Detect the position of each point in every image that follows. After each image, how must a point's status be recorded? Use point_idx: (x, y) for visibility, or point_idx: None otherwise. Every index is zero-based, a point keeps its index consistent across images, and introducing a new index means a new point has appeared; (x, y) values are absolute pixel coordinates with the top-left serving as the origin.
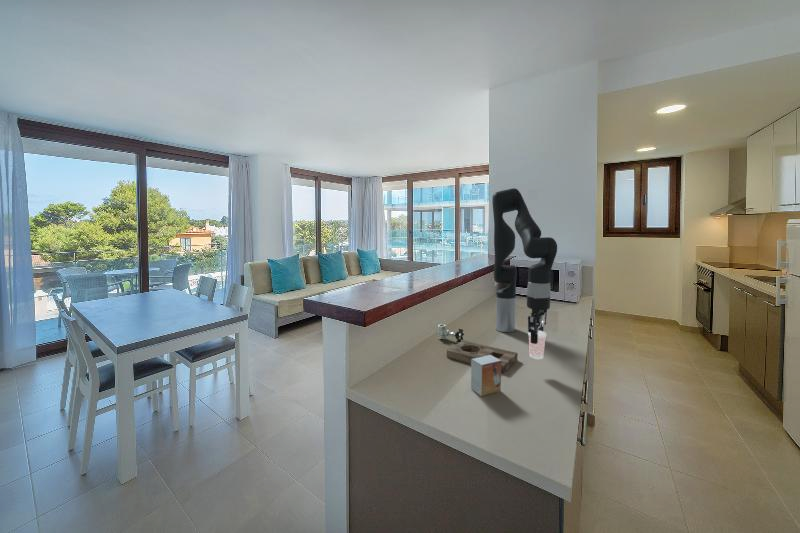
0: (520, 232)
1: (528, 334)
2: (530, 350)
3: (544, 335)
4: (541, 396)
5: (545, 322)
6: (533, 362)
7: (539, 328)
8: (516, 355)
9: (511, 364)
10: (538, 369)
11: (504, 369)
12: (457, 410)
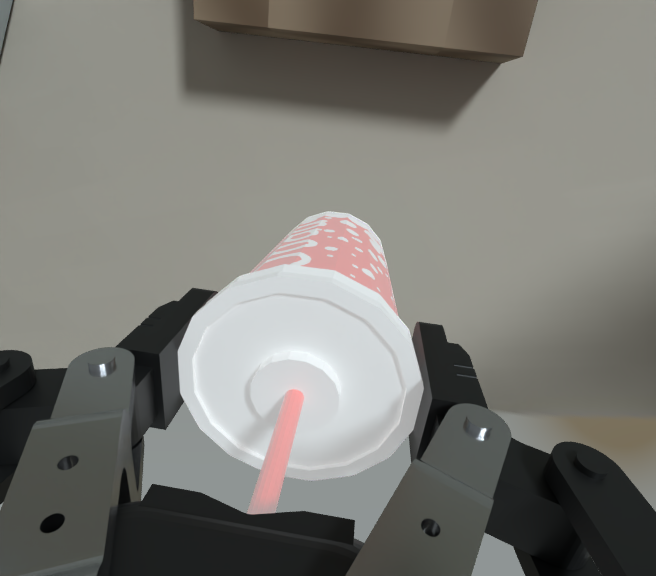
0: None
1: (238, 279)
2: (281, 241)
3: (247, 462)
4: (100, 287)
5: (546, 569)
6: (504, 185)
7: (422, 428)
8: (489, 54)
9: (369, 46)
10: (398, 232)
11: (224, 28)
12: None
